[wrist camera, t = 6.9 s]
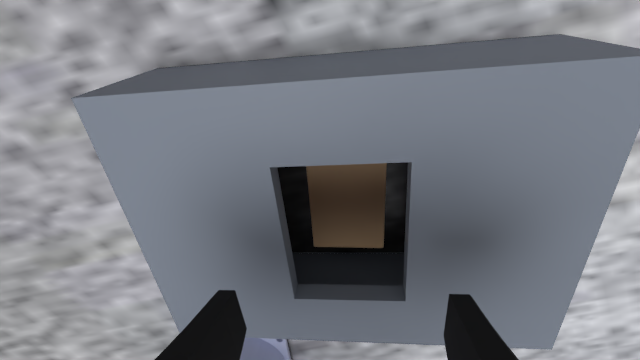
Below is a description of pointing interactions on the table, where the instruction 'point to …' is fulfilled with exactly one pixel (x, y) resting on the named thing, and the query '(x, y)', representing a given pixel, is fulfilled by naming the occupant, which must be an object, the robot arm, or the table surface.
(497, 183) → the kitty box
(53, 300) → the table surface
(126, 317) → the table surface
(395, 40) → the table surface
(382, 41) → the table surface
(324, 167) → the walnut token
